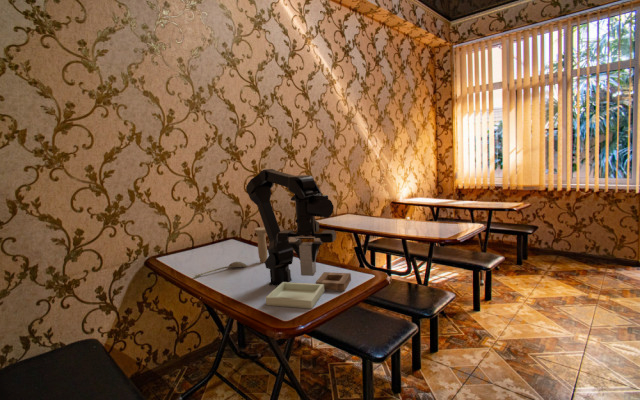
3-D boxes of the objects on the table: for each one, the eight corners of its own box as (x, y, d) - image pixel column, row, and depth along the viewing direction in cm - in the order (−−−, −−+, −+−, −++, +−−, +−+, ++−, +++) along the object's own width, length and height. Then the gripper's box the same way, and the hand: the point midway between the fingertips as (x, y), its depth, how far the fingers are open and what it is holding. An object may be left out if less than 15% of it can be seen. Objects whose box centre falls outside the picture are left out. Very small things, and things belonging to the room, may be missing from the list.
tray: (266, 305, 106) (265, 297, 105) (283, 288, 118) (282, 282, 118) (311, 308, 101) (311, 300, 101) (324, 291, 113) (324, 284, 113)
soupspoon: (249, 269, 145) (243, 266, 151) (249, 261, 145) (243, 258, 150) (197, 280, 133) (192, 277, 138) (196, 272, 132) (192, 269, 138)
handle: (264, 259, 154) (261, 226, 153) (272, 262, 150) (269, 228, 148) (255, 261, 151) (252, 228, 149) (262, 264, 146) (259, 230, 145)
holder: (315, 289, 116) (315, 282, 115) (324, 278, 125) (324, 272, 125) (344, 291, 113) (344, 283, 112) (351, 280, 122) (350, 273, 122)
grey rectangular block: (301, 275, 111) (299, 245, 109) (304, 271, 114) (302, 242, 113) (312, 275, 110) (311, 245, 108) (316, 271, 113) (314, 242, 112)
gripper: (338, 210, 115) (340, 254, 117) (286, 210, 120) (289, 253, 122) (331, 216, 104) (333, 265, 106) (274, 216, 109) (277, 263, 111)
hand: (307, 261), depth 111 cm, fingers closed on grey rectangular block, 4 cm apart
